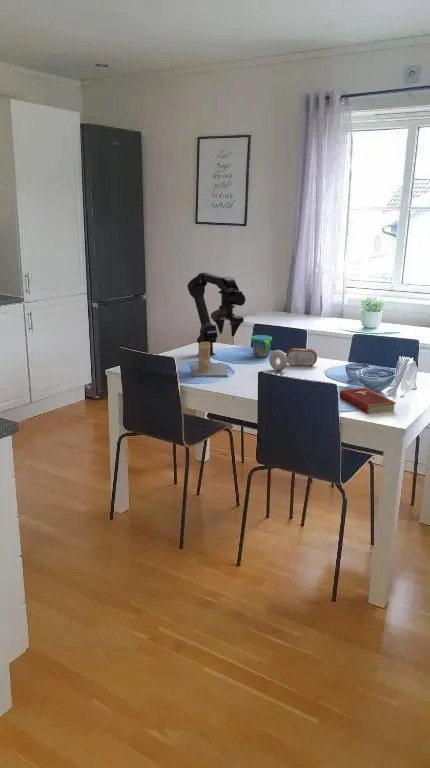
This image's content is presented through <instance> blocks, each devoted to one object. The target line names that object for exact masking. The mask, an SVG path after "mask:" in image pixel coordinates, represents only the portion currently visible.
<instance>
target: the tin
mask: <svg viewBox="0 0 430 768" xmlns="http://www.w3.org/2000/svg"><path fill="white" fill-rule="evenodd" d="M285 355H286V357H287V364H289V365H290V366H294V367H295V366H296V367H312V366H313V365H315V364H316V363H317V360H318V355H317V352H316V351H315V350H313V349H311V348H299V347H298V348H297V347H293V348H290V349H289V350H287V352H286V353H285Z"/></svg>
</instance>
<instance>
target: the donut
mask: <svg viewBox="0 0 430 768" xmlns="http://www.w3.org/2000/svg"><path fill="white" fill-rule="evenodd" d="M277 358H278V359H279V362H277ZM268 360H269V365H270V366H271V368H272V370H274V371H277V372H281V371H284V370H285V369H286V368H287V366H288V362H287V357H286V353H285V352H284V351H283V350H280V349H275V350H273V351H271V353H270V354H269V356H268Z"/></svg>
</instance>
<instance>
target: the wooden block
mask: <svg viewBox="0 0 430 768" xmlns="http://www.w3.org/2000/svg"><path fill="white" fill-rule="evenodd" d="M198 353H199V354H198V364H199V372H209V370H210V364H211V355H210V342H200V343H198Z"/></svg>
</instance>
